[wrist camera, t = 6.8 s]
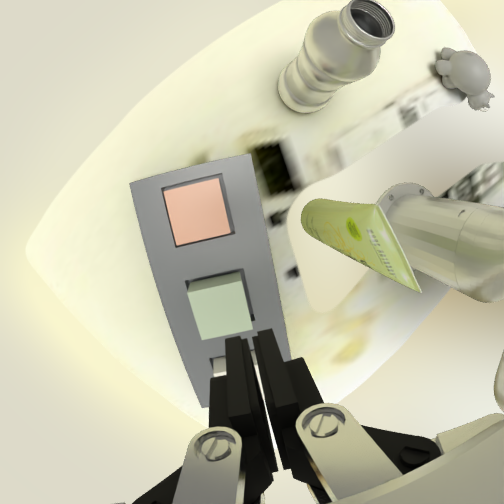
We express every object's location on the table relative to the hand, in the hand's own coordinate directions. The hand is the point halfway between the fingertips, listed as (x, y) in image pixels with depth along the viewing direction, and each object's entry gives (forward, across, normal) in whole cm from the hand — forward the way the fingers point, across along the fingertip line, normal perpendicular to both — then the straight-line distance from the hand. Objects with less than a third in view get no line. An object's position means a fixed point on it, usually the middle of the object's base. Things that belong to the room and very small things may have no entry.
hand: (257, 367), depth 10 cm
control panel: (+27, +3, +7) cm, 28 cm away
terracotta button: (+27, +3, -4) cm, 27 cm away
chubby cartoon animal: (+27, -40, -17) cm, 51 cm away
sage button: (+25, +3, +7) cm, 26 cm away
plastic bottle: (+27, -12, -16) cm, 34 cm away
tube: (+27, -11, 0) cm, 29 cm away
